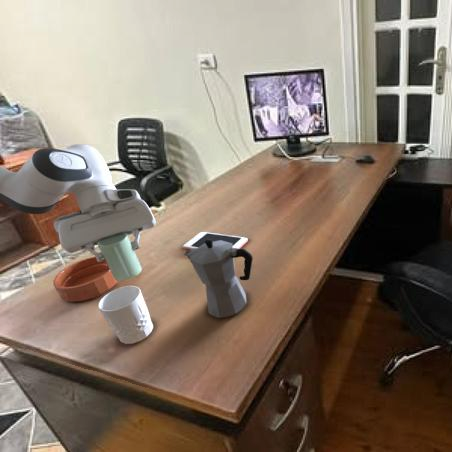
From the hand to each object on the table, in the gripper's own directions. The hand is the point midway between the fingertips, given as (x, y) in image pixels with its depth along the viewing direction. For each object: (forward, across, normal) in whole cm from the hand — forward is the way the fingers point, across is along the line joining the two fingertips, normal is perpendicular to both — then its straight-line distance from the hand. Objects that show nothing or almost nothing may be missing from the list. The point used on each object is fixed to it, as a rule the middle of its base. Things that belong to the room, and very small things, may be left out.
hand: (119, 254), depth 84 cm
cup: (+4, 0, +5) cm, 6 cm away
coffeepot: (+23, +18, -6) cm, 30 cm away
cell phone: (+2, +24, +15) cm, 28 cm away
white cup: (+20, -2, -3) cm, 20 cm away
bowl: (0, -10, +16) cm, 18 cm away
